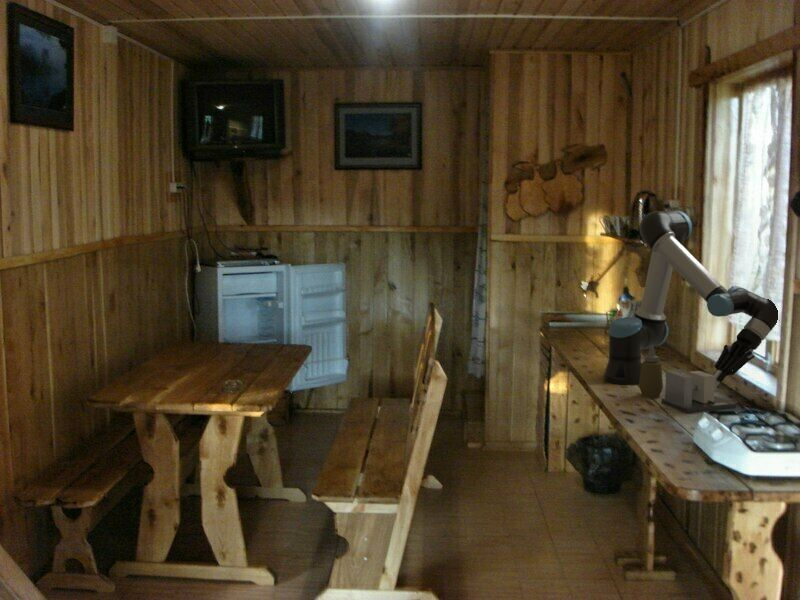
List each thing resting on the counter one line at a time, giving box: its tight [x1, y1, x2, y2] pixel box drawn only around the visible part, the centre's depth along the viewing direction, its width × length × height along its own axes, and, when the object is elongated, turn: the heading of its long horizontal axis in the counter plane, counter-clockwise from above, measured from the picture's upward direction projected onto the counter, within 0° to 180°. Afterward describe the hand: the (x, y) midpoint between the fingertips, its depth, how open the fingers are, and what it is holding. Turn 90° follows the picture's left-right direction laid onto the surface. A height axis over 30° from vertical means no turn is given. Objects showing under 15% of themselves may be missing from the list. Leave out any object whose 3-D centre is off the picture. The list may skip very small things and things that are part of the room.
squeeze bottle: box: [638, 346, 664, 399], centre depth 285 cm, size 8×8×18 cm
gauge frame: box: [660, 370, 737, 415], centre depth 272 cm, size 14×19×12 cm
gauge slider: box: [688, 370, 715, 404], centre depth 271 cm, size 10×7×9 cm, turn 18°
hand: (709, 387), depth 273 cm, fingers closed
